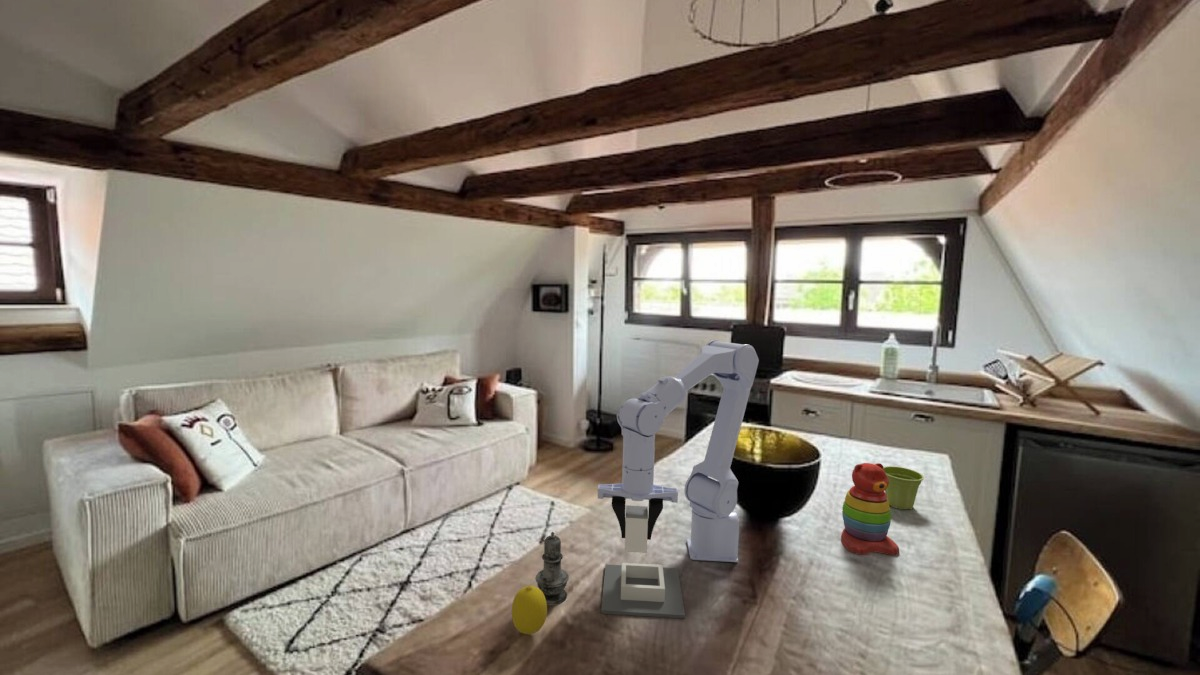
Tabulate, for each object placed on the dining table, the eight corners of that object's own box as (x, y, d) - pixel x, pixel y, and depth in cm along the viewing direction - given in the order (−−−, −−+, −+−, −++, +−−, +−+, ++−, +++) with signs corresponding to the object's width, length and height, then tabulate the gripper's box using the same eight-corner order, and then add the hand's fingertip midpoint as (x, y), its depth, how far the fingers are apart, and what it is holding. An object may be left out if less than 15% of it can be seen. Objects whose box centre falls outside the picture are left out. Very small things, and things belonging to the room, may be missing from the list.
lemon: (513, 623, 82) (513, 576, 81) (547, 621, 83) (547, 575, 82) (510, 647, 77) (510, 597, 76) (546, 645, 77) (546, 596, 76)
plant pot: (921, 503, 132) (923, 471, 131) (920, 516, 124) (924, 482, 123) (880, 494, 136) (882, 463, 136) (877, 507, 129) (880, 474, 128)
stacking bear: (852, 555, 105) (858, 472, 103) (829, 531, 115) (834, 456, 113) (903, 555, 105) (910, 473, 104) (876, 532, 115) (882, 456, 114)
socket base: (677, 571, 98) (678, 556, 98) (684, 618, 84) (685, 601, 84) (605, 567, 99) (605, 552, 99) (601, 613, 85) (601, 596, 85)
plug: (646, 542, 96) (647, 506, 95) (646, 552, 92) (647, 515, 91) (625, 541, 96) (626, 505, 95) (624, 551, 92) (625, 514, 91)
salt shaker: (563, 608, 86) (564, 541, 85) (530, 603, 87) (531, 537, 86) (572, 588, 92) (573, 525, 91) (541, 584, 93) (541, 522, 92)
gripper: (596, 471, 88) (595, 545, 90) (680, 475, 87) (677, 549, 89) (599, 457, 95) (598, 526, 97) (677, 461, 94) (674, 530, 96)
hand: (636, 536), depth 93 cm, fingers closed on plug, 4 cm apart
